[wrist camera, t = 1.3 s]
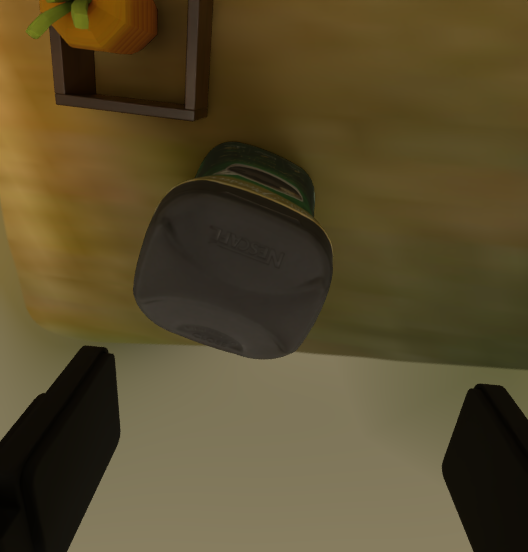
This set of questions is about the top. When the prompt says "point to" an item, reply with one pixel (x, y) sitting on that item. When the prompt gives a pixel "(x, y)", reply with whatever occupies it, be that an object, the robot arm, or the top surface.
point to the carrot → (99, 23)
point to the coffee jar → (237, 255)
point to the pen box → (82, 93)
